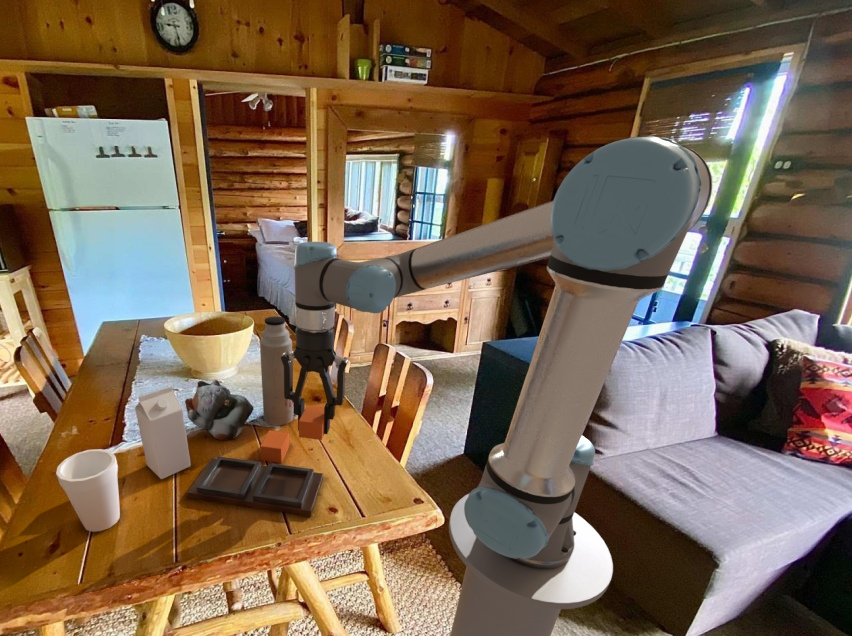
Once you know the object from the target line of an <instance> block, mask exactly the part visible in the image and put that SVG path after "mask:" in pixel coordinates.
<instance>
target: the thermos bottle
mask: <svg viewBox="0 0 852 636" xmlns="http://www.w3.org/2000/svg"><path fill="white" fill-rule="evenodd" d="M264 323H265V329H263V331H262V333H261V337H262V338H261V339H259V349H260V350H259V352H260V353H259V354H260V373H261V374H260V375H261V390H262V407H263V408H262V410H263V420H264V422H265V423H266V424H268V425H272V426H283V425H287V424H289V423H291V422H292V421H293V420H294V413H293V401H292V400H290V399H285V398H284V366H283V363H282V360H281V356H282V355H283V354H284V353H285V352H286V351H288V352H293V340H292V339H291V336H290V332H289V330H288V329H287V328H286V318H285V317H282V316H268V317H266V318H264Z"/></svg>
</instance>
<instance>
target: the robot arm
mask: <svg viewBox="0 0 852 636" xmlns="http://www.w3.org/2000/svg"><path fill="white" fill-rule="evenodd" d="M712 193H713V176H712V172H711V170H710V167H709V165H708V163H707V161H706V160H705V159H704V158H703V157H702V155H700V153H698V152H697V151H695V150H694V149H692V148H690V147H688V146H685V145H683V144H681V143H679V142H677V141H675V140H673V139H671V138H667V137H658V136H654V135H648V136H631V137H628V138H624V139H620V140H616V141H613V142H611V143H608V144H605V145H604V146H600V147H599V148H597V149H595V150H594V151H592V152H591V153H589V154H588V155H586V156H585V157H583V158H582V159H581V160H580V161H579V162H578V163H577V164H575V166H574V167H573V168H571V170H570V171H569V172H568V173H567V175H566V176H565V177H564V179H563V180H562V182H561V183H560V185H559V187H558V189H557V191H556V193H555V195H554V198H553V200H551V201H547V202H545V203H542V204H539V205H536V206H534V207H533V206H532V207H531V208H528V209H525V210H522V211H518V212H516V213H514V214H511V215H508V216H504V217H502V218H499V219H496V220H494V221H490V222H488V223H485V224H482V225H479V226H476V227H473V228H470V229H468V230H464V231H462V232H458V233H457V234H456V233H455V234H454V235H450V236H448V237H445V238H442V239H439V240H436V241H433V242H431V243H427V244H424V245H421V246H419V247H416V248H412V249H410V250H407V251H404V252H401V253H397V254H394V255H390V256H386V257H380V258H375V259H369V260H364V261H352V260H346V259H341V258H338V252H337V246H336V245H335V243H332V242H327V241H305V242H300V243H299V244H297V245H296V246H295V251H294V265H293V269H294V304H295V305H294V307H295V308H294V309H295V310H294V312H295V313H294V315H295V316H294V317H295V319H294V320H295V321H294V322H295V323H294V324H295V326H296V327H295V328H294V329H295V330H294V331H295V348H294V350H292V352H288V351H286V352H285V353H284V354H283V355H282V356H281V360H282V363H283V366H284V398H285V399H290V400H292V401H293V416H297V431H298V432H299V420H300V418H301V416H302V414H303V412H304V410H305V408H306V405H305V400H306V399H305V398H303V397H302V396H303V391H304V389H305V388H304V387H305V384H306V381H307V377H308V373H316V374H318V375H319V378H320V379H321V383H322V387H323V391H324V395H325V399H326V402H325V405H324V406H323V407H324V435H328V433H329V431H330V428H331V421H333V420H334V419H335V415H336V406H342V405H343V403H344V400H345V395H346V394H345V393H346V392H345V391H346V390H345V387H346V368H347V366H348V363H349V357H347V356H344V357H341V356H339V355H337V353H336V350H335V328H334V327H335V324H336V323H335V320H336V319H335V317H336V315H335V314H336V313H335V312H336V305H340V306H343V307H347V308H350V309H354V310H355V311H358V312H359V311H360V312H361V313H369V314H381V313H383V312H385V311H386V309H387V307H389V306H390V305H391V304H392V302H393V301H394V299H395V298H399V297H404V296H407V295H411V294H415V293H418V292H423V291H426V290H429V289H432V288H437V287H440V286H444V285H447V284H451V283H456V282H460V281H464V280H469V279H471V278H476V277H479V276H483V275H487V274H492V273H494V272H495V273H496V272H499V271H503V270H507V269H511V268H514V267H519V266H523V265H527V264H530V263H534V262H538V261H539V262H540V261H542V260H546V259H548V262H547V265H546V271H547V272H548V274H549V275H550V277H551V279H552V280H553V282H554V284H555V286H554V289H553V291H552V295H551V298H550V301H549V303H548V307H547V311H546V314H545V317H544V320H543V323H542V326H541V329H540V332H539V336H538V339H537V342H536V345H535V348H534V351H533V353H532V357H531V360H530V363H529V366H528V369H527V372H526V374H525V375H526V376H525V378H524V381H523V385H522V388H521V391H520V394H519V397H518V400H517V403H516V407H515V410H514V413H513V416H512V419H511V422H510V425H509V428H508V431H507V434H506V437H505V440H504V442H503V443H499V444H496V445H495V446H494V447H493V448H492V449H491V450H490V452H489V455H488V457H487V461H486V464H485V467H484V470H483V473H482V477H481V479H480V482H479V484H478V485H477V486H476V488H473V489H472V490H471V491H470V492H469V493H470V494H469V493H468V494H469V496H468V498H467V499H466V502H465V505H464V513H465V518H466V520H467V523H468V525H469V527H471V529H472V530H473V531H474V534H475V535H476V536H477V538H478V539H479V540H480V541H481V542H483V543H484V544H485V545H486V546H487V547H489V548H490V549H492V550H493V551H495V552H497V553H499V554H501V555H504V556H506V557H507V558H509V559H511V560H513V561H514V562H517V563H519V564H521V565H524V566H527V567H531V568H536V569H554V568H558V567H561V566H563V565H564V564H566V563H567V562H568V561H569V559H570V557H571V555H572V552H573V550H574V536H575V535H576V532H575V531H574V530H573V521H572V517H573V514H574V512H575V511H576V509H577V505H578V503H579V500H580V497H581V495H582V492H583V489H584V486H585V484H586V481H587V478H588V475H589V473H590V469H591V466H593V465H594V459H595V454H596V449H595V446H594V444H593V443H592V442H591V441H590V440H589V439H588V438H586V437H585V436H584V435H583V433H584V431H585V429H586V426H587V425H588V422H589V419H590V417H591V415H592V412H593V410H594V409H595V405H596V403H597V400H598V398H599V396H600V393H601V391H602V389H603V386H604V384H605V382H606V380H607V377H608V375H609V372H610V371H611V368H612V366H613V363H614V361H615V358H616V356H617V353H618V352H619V349H620V346H621V344H622V342H623V339H624V337H625V335H626V332H627V331H628V327H629V326H630V323H631V320H632V318H633V316H634V314H635V311H636V308H637V306H638V304H639V302H640V301H641V300H643V299H644V298H647V297H649V296H651V295H653V294H655V293H658V292H659V291H661V290H663V287H664V285H665V284H666V283H665V282H666V281H667V278H668V277H669V274H670V272H671V269H672V267H673V265H674V262H675V261H676V258H677V256H678V254H679V252H680V249H681V247H682V245H683V243H684V241H685V238H686V236H687V234H688V232H690V231H691V230H692V229H693V228H694V227H696V225H697V224H698V222H699V221H700V220H701V218H702V217H704V214H705V212H706V210H707V208H708V207H709V204H710V201H711V197H712V195H713V194H712ZM295 360H296V362H297V363H298V364H299V366H300V370H299V375H298V379H297V383H296V386H295V389H294V361H295ZM333 362H334V363H335V368H336V369H337V372H336V393H335V390H334V386H333V382H332V378H331V374H330V366H331V365H332V364H333ZM335 394H336V395H335Z"/></svg>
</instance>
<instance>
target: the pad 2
mask: <svg viewBox="0 0 852 636" xmlns="http://www.w3.org/2000/svg"><path fill="white" fill-rule="evenodd" d="M324 407H325V406H317V405H308V404H307V405H305V410H304V412H303V414H302V416H301V418H300V420H299V431H298V437H299V438H304V439H309V440H317V441H323V438H324V436H325V434H324Z"/></svg>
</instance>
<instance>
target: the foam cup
mask: <svg viewBox="0 0 852 636" xmlns="http://www.w3.org/2000/svg"><path fill="white" fill-rule="evenodd" d="M118 472H119V466H118V461H117V457H116V455H115V454H114V453H113V452H112V451H111V450H107V449H103V448H97V449H95V448H94V449H86V450H83V451H80V452H76V453H74V454H72V455H70V456H68V457H67V458H65V459H64V460H63V461H61V463H60V464H59V465H57V468H56V472H55V475H56V479H57V480H58V484H59V486H60V487H61V488H62V489H63V491H64V493H65V495H66V496H67V499H68V500H69V502H70V504H71V506H72V508H73V509H74V511H75V513H76V515H77V517H78V519H79V520H80V523H81V525H82V526H83V527H84V529H85V530H86V531H89V532H92V533H94V532H102V531H105V530H107V529H110V528H111V527H113V526H114V525H115V524H117V523H118V521H119V520H120V518H121V517H120V516H121V507H120V495H119V493H120V492H119V480H118Z"/></svg>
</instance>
